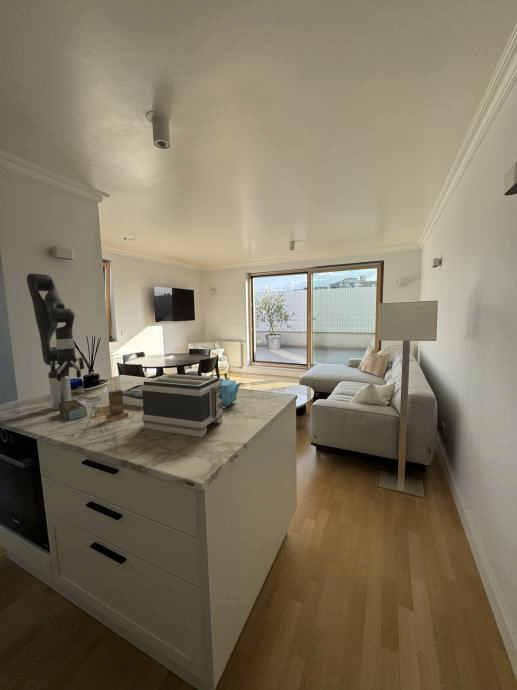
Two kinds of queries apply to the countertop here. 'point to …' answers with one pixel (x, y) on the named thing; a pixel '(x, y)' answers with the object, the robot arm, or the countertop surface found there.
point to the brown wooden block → (116, 402)
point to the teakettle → (228, 391)
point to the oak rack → (108, 415)
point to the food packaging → (133, 396)
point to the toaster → (182, 403)
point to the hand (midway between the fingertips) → (69, 379)
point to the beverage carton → (72, 410)
